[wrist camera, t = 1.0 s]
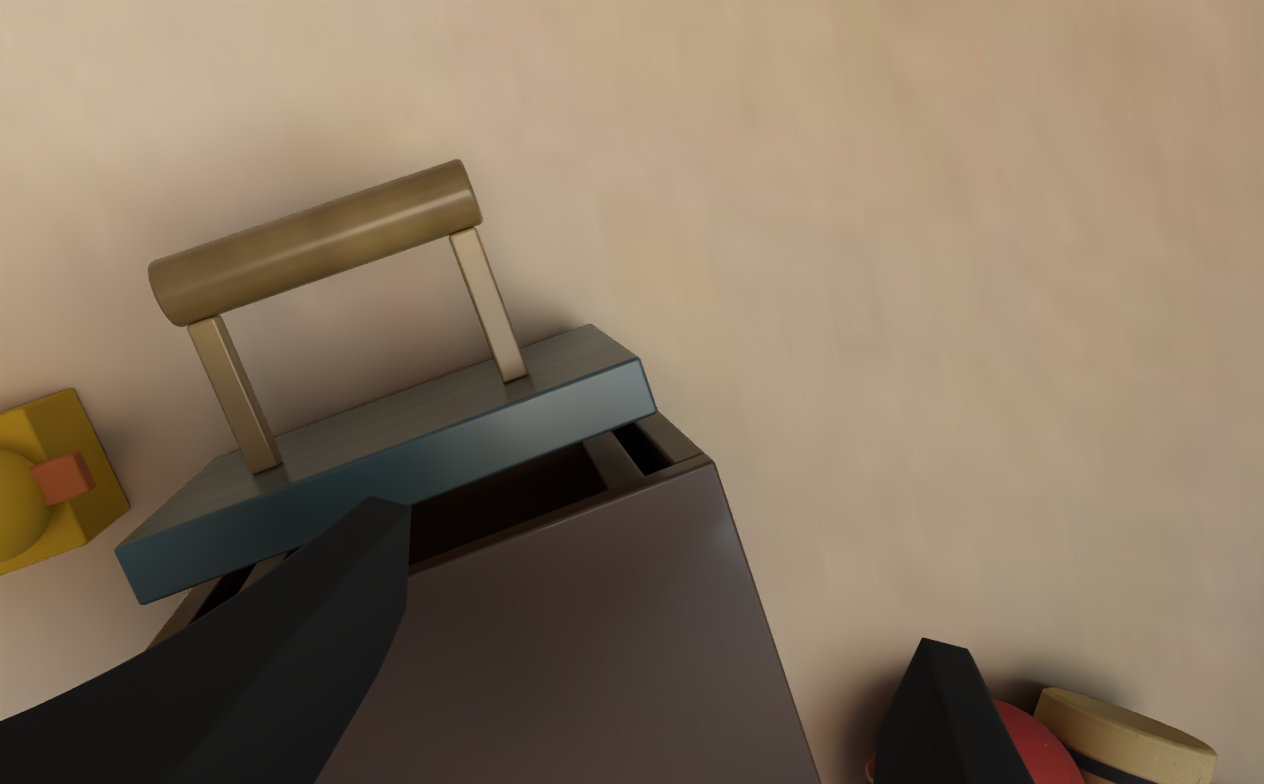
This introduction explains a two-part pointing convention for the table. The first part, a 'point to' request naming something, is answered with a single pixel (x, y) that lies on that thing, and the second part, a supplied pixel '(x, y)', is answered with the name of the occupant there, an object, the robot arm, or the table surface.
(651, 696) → the cabinet
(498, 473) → the drawer
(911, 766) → the robot arm
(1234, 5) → the table surface
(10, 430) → the duck
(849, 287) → the table surface
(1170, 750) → the kendama
